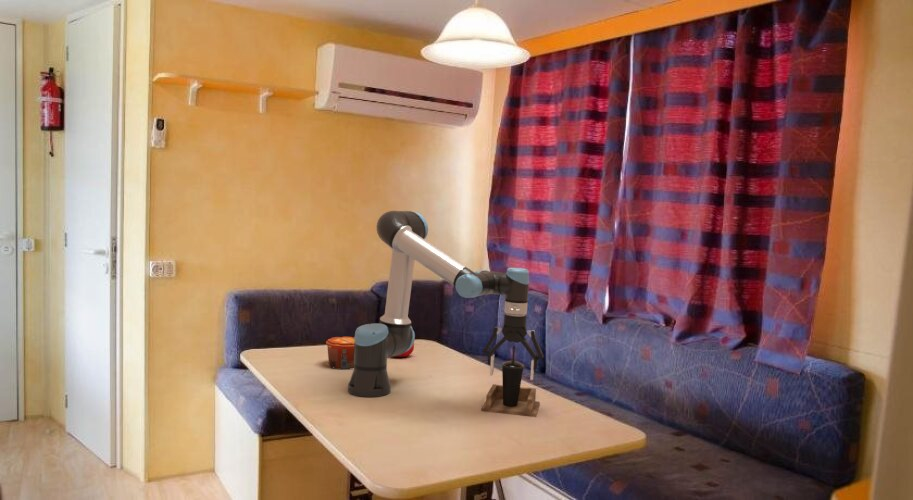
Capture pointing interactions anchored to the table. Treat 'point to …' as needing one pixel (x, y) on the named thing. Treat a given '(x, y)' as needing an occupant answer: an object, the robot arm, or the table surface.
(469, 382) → the table surface
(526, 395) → the u rest
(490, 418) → the table surface
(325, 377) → the table surface
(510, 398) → the drinking cup
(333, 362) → the food container
